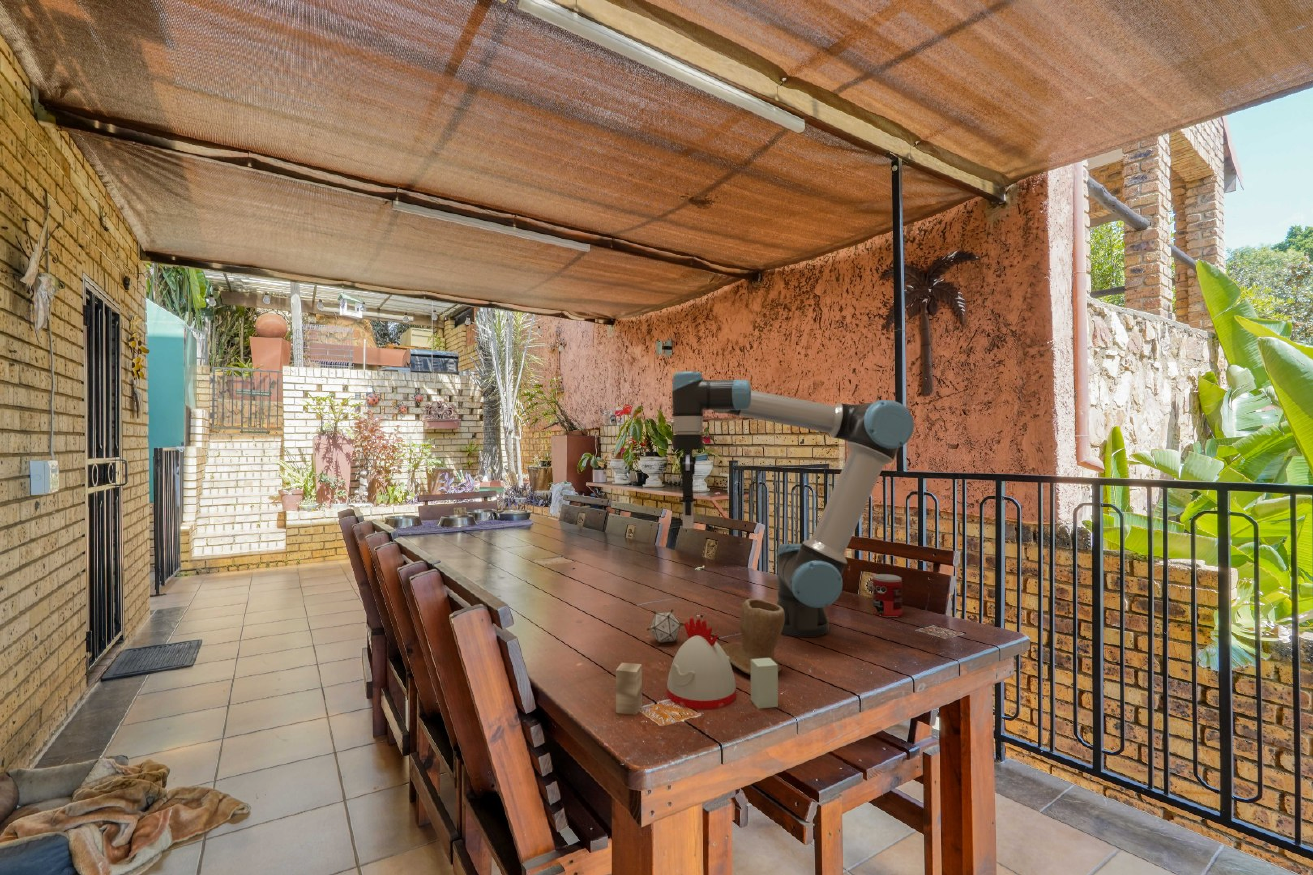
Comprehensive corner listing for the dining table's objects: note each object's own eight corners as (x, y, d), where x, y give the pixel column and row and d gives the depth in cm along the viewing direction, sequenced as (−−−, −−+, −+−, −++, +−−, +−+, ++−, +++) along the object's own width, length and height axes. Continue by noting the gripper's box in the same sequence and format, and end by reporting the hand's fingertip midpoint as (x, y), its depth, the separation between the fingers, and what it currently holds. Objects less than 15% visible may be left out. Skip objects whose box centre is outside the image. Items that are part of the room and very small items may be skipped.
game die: (670, 659, 150) (679, 635, 144) (639, 645, 152) (646, 620, 146) (682, 632, 157) (690, 608, 152) (652, 619, 159) (659, 595, 153)
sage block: (769, 697, 119) (769, 657, 119) (777, 706, 115) (777, 664, 115) (750, 699, 118) (750, 659, 118) (758, 708, 114) (757, 666, 114)
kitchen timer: (698, 675, 131) (697, 606, 131) (749, 693, 121) (749, 619, 121) (653, 694, 121) (652, 620, 121) (705, 716, 111) (704, 635, 111)
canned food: (870, 610, 180) (870, 573, 180) (898, 611, 179) (898, 574, 179) (876, 617, 172) (875, 579, 172) (905, 618, 171) (905, 580, 171)
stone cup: (795, 675, 130) (795, 606, 130) (746, 682, 126) (746, 611, 126) (761, 652, 144) (760, 590, 145) (716, 658, 141) (716, 594, 141)
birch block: (642, 705, 116) (641, 664, 116) (636, 714, 112) (636, 671, 112) (622, 703, 116) (621, 662, 117) (616, 712, 113) (615, 670, 113)
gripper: (673, 434, 156) (674, 524, 156) (671, 433, 143) (672, 531, 143) (702, 434, 156) (702, 524, 156) (703, 433, 143) (703, 532, 143)
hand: (688, 527), depth 149 cm, fingers closed
